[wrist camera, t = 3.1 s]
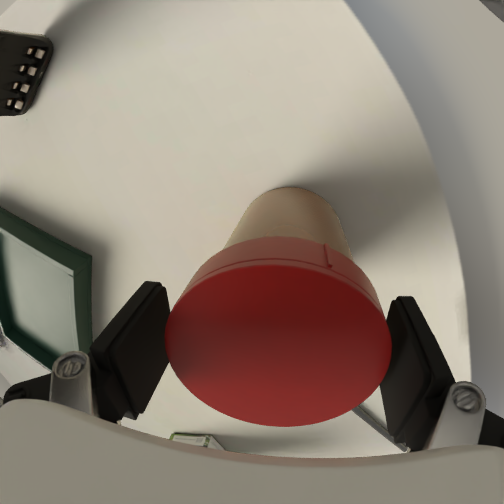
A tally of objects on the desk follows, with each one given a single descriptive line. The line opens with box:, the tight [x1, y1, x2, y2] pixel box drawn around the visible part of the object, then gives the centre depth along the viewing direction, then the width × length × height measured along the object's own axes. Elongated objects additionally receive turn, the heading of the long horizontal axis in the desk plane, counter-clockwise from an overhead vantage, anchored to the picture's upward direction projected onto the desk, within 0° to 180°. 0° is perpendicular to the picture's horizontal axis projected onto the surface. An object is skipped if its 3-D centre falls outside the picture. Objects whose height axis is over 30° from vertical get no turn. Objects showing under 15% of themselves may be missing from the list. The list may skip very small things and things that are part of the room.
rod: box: [352, 406, 408, 452], centre depth 23 cm, size 1×19×1 cm, turn 43°
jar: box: [223, 187, 354, 262], centre depth 13 cm, size 6×6×10 cm
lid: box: [165, 236, 392, 427], centre depth 9 cm, size 7×7×2 cm
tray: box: [0, 207, 93, 373], centre depth 23 cm, size 17×14×2 cm
